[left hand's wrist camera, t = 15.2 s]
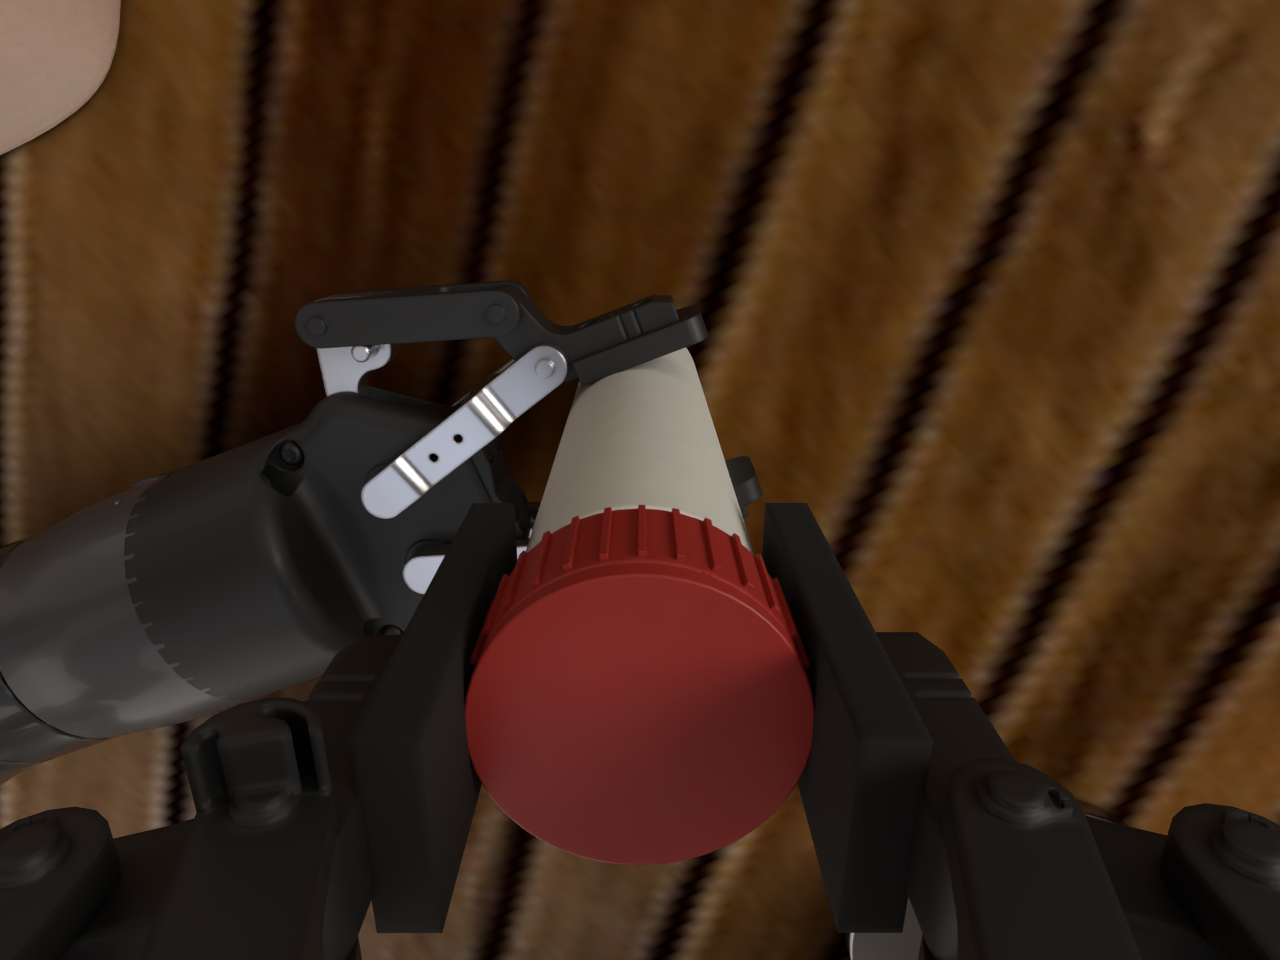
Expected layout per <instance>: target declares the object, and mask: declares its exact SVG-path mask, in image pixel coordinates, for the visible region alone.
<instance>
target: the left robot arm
mask: <svg viewBox="0 0 1280 960" xmlns="http://www.w3.org/2000/svg"><path fill="white" fill-rule="evenodd" d="M762 558H763V561H764V564H765V567H766V570H767V572H768V574H769V575H770V577H771V578H772V579H774V578H777V579H778V580H779V582H780V585H781V588H782V591H783V593H784V596H785V599H786V602H787V604H789V607H790V610H791V612H792V615H793V618H794V621H795V624H796V626H797V629H798V632H799V635H800V637H801V640H802V643H803V646H804V649H805V651H806V654H807V657H808V660H809V663H810V667H809V668H808V669H805V670H806V673H807V676H808V679H809V682H810V685H811V688H812V692H813V699H814V705H815V715H814V727H813V737H812V747H811V752H810V755H809V758H808V761H807V764H806V767H805V769H804V771H803V773H802V775H801V777H800V779H799V781H798V786H799V790H800V794H801V797H802V801H803V805H804V809H805V813H806V816H807V820H808V824H809V828H810V831H811V835H812V839H813V843H814V846H815V850H816V854H817V858H818V862H819V865H820V869H821V873H822V877H823V880H824V884H825V888H826V892H827V895H828V899H829V903H830V907H831V910H832V914H833V918H834V922H835V926H836V929H837V933H844V934H845V942H846V946H847V950H848V954H849V957H850V960H1280V825H1278V824H1276V823H1274V822H1272V821H1270V820H1268V819H1266V818H1264V817H1262V816H1259V815H1256V814H1253V813H1250V812H1247V811H1244V810H1241V809H1238V808H1235V807H1230V806H1222V805H1214V804H1207V803H1204V804H1199V805H1193V806H1188V807H1184V808H1183V809H1182V810H1181V811H1180V812H1178V813H1177V814H1176V815H1175V816H1174V817H1173V819H1172V822H1171V825H1170V829H1169V832H1168V835H1162V834H1158V833H1154V832H1149V831H1145V830H1141V829H1136V828H1132V827H1129V826H1128V825H1127V824H1126V823H1124V822H1123V821H1122V820H1120V819H1119V818H1117V817H1116V816H1114V815H1113V814H1111V813H1109V812H1107V811H1105V810H1103V809H1101V808H1099V807H1097V806H1095V805H1092V804H1089V803H1087V802H1084V801H1080V800H1077V799H1075V798H1074V797H1073V795H1072V794H1071V793H1070V792H1069V791H1068V790H1067V789H1065V788H1064V787H1063V786H1062V785H1060V784H1059V783H1058V782H1057V781H1056V780H1054V779H1053V778H1052V777H1050V776H1048V775H1046V774H1044V773H1042V772H1040V771H1038V770H1036V769H1034V768H1032V767H1030V766H1028V765H1024V764H1021V763H1017V762H1016V761H1015V759H1014V758H1013V756H1012V755H1011V753H1010V752H1009V750H1008V749H1007V747H1006V746H1005V744H1004V742H1003V741H1002V739H1001V738H1000V736H999V735H998V733H997V732H996V730H995V729H994V727H993V726H992V724H991V723H990V721H989V720H988V718H987V717H986V715H985V714H984V712H983V711H982V709H981V707H980V706H979V704H978V703H977V701H976V700H975V698H971V692H970V691H969V689H968V688H967V686H966V685H965V683H964V682H963V680H962V679H959V674H958V672H957V671H956V669H955V668H954V666H953V665H952V663H951V662H950V660H949V659H948V657H947V656H946V654H945V653H944V652H943V651H942V650H941V649H939V648H938V647H937V646H935V645H934V644H932V643H931V642H930V641H928V640H927V639H926V638H924V637H923V636H921V635H920V634H919V633H917V632H875V630H874V629H873V627H872V625H871V623H870V621H869V619H868V617H867V615H866V613H865V612H864V610H863V608H862V606H861V604H860V602H859V600H858V598H857V597H856V595H855V593H854V591H853V589H852V587H851V585H850V583H849V582H848V580H847V578H846V576H845V574H844V572H843V570H842V568H841V566H840V565H839V563H838V561H837V559H836V557H835V555H834V553H833V551H832V550H831V548H830V546H829V544H828V542H827V540H826V538H825V536H824V535H823V533H822V531H821V529H820V527H819V525H818V523H817V521H816V519H815V518H814V516H813V514H812V512H811V510H810V508H809V506H808V504H807V503H765V519H764V535H763V552H762ZM517 560H518V559H517V542H516V526H515V510H514V503H473V504H472V505H471V507H470V509H469V511H468V513H467V515H466V517H465V519H464V521H463V522H462V524H461V526H460V528H459V530H458V532H457V534H456V536H455V537H454V539H453V541H452V543H451V545H450V547H449V549H448V551H447V552H446V554H445V556H444V558H443V560H442V562H441V564H440V566H439V568H438V569H437V571H436V573H435V575H434V577H433V579H432V581H431V583H430V584H429V586H428V588H427V590H426V592H425V594H424V596H423V598H422V599H421V601H420V603H419V605H418V607H417V609H416V611H415V613H414V614H413V616H412V618H411V620H410V622H409V624H408V626H407V628H406V630H405V631H404V633H403V635H362V636H360V637H359V638H358V639H356V640H355V641H354V642H352V643H351V644H349V645H348V646H347V647H345V648H344V649H343V650H341V651H340V652H339V653H337V654H336V655H335V657H334V658H333V660H332V661H331V663H330V664H329V666H328V667H327V669H326V670H325V672H324V673H323V675H322V677H321V682H318V683H317V684H316V686H315V687H314V689H313V690H312V692H311V693H310V695H309V700H308V701H305V702H303V701H299V700H296V699H292V698H265V699H260V700H256V701H252V702H248V703H243V704H239V705H237V706H235V707H232V708H230V709H228V710H225V711H223V712H221V713H219V714H216V715H214V716H213V717H211V718H210V719H209V720H207V721H206V722H204V723H203V724H202V725H200V726H199V727H197V728H196V729H195V730H193V731H192V733H191V734H190V735H189V737H188V738H187V739H186V741H185V742H184V743H183V744H182V746H181V747H180V748H181V752H182V756H183V760H184V764H185V768H186V772H187V776H188V779H189V783H190V787H191V791H192V795H193V799H194V803H195V807H196V811H197V813H196V816H195V818H194V819H191V820H188V821H184V822H181V823H178V824H174V825H171V826H166V827H162V828H158V829H154V830H149V831H145V832H141V833H136V834H132V835H128V836H123V837H119V838H115V839H113V837H112V834H111V831H110V827H109V824H108V821H107V820H106V819H105V818H104V817H103V816H102V815H100V814H99V813H98V812H97V811H96V810H91V809H85V808H79V807H69V808H61V809H54V810H47V811H44V812H41V813H38V814H35V815H32V816H29V817H26V818H23V819H20V820H17V821H15V822H13V823H11V824H9V825H8V826H6V827H4V828H2V829H0V960H362V958H361V950H360V944H359V939H358V934H359V931H360V928H361V926H362V923H363V920H364V918H365V915H366V912H367V910H368V907H369V905H370V902H371V899H372V905H373V911H374V917H375V923H376V929H377V933H442V931H443V928H444V924H445V920H446V916H447V913H448V909H449V905H450V901H451V897H452V894H453V890H454V886H455V882H456V879H457V875H458V871H459V867H460V864H461V860H462V856H463V852H464V849H465V845H466V841H467V837H468V833H469V830H470V826H471V822H472V818H473V815H474V811H475V807H476V803H477V800H478V796H479V792H480V788H481V785H482V783H481V781H480V779H479V777H478V775H477V773H476V771H475V770H474V767H473V764H472V761H471V758H470V756H469V752H468V742H467V733H466V721H465V697H466V692H467V688H468V685H469V681H470V678H471V675H472V672H473V669H474V666H475V665H472V664H470V659H471V656H472V653H473V651H474V648H475V645H476V642H477V640H478V637H479V634H480V631H481V629H482V626H483V623H484V620H485V617H486V615H487V612H488V609H489V606H490V604H491V601H492V600H493V601H494V598H495V595H496V593H497V590H498V587H499V584H500V581H501V579H502V577H503V575H504V574H506V575H508V576H510V574H511V573H512V571H513V569H514V568H515V566H516V563H517Z"/></svg>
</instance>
